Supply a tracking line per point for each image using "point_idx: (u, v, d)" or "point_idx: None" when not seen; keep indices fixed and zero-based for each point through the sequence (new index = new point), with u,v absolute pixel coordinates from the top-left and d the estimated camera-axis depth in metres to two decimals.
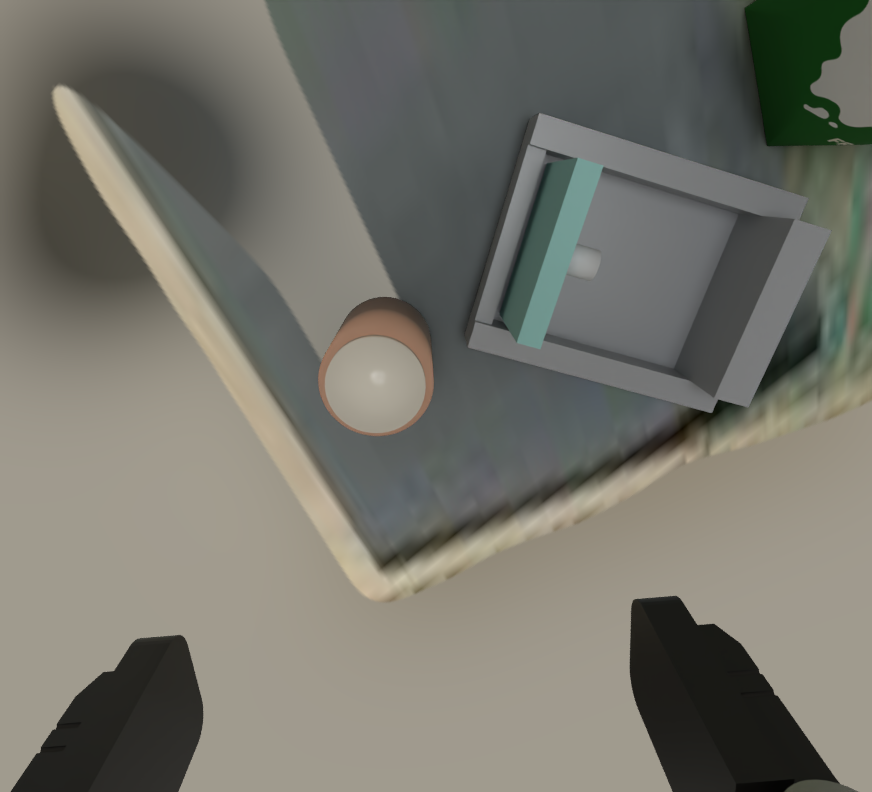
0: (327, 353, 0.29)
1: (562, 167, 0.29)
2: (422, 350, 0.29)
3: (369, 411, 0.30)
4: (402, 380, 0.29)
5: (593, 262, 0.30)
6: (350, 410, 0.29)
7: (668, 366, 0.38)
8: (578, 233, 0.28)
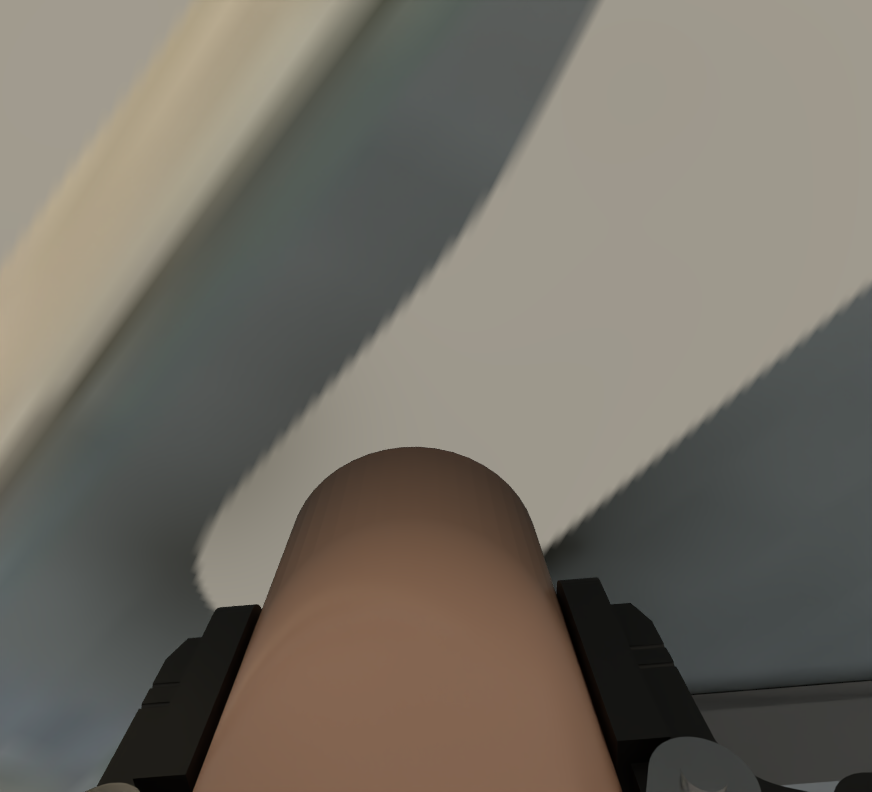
0: None
1: None
2: None
3: None
4: None
5: None
6: None
7: None
8: None
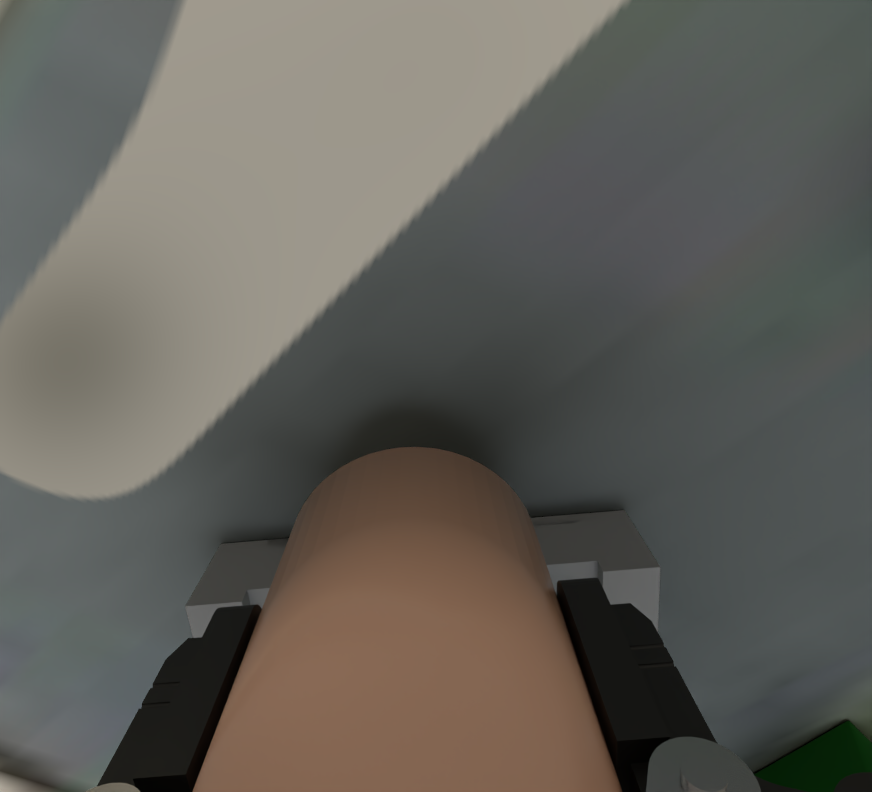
0: None
1: None
2: None
3: None
4: None
5: None
6: None
7: None
8: None
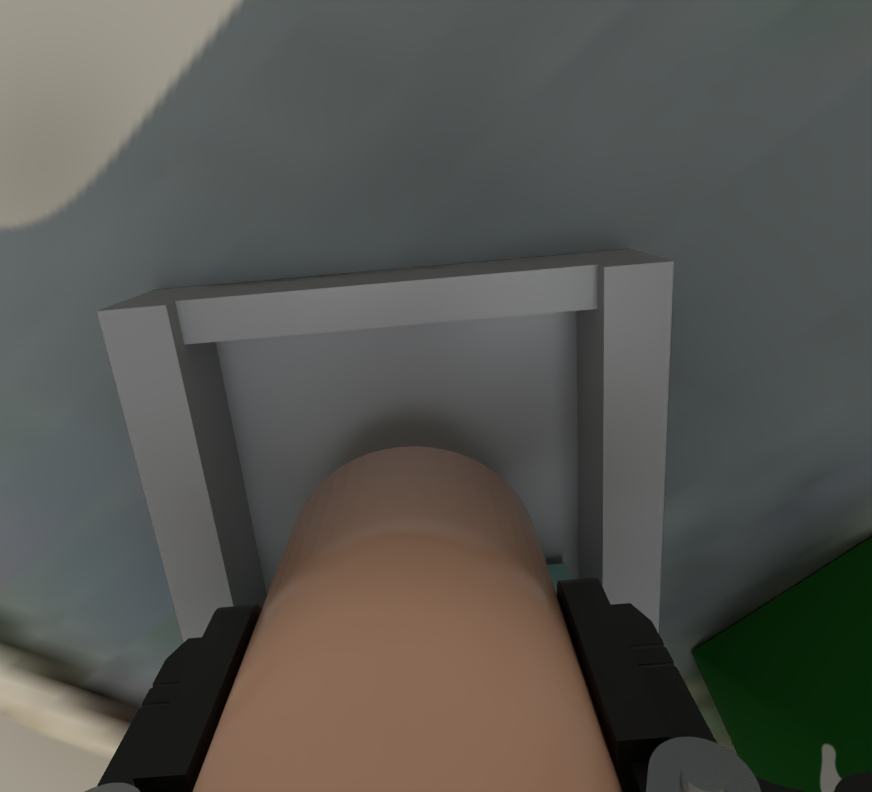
0: None
1: None
2: None
3: None
4: None
5: None
6: None
7: None
8: None
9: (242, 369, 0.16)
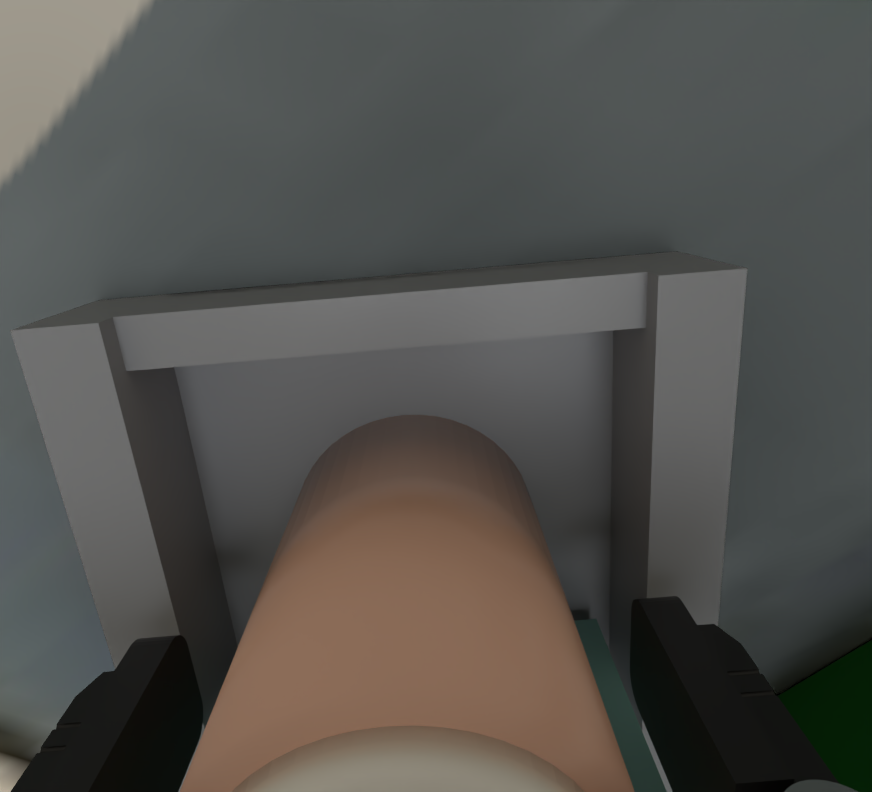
0: (463, 704, 0.06)
1: (645, 788, 0.11)
2: None
3: None
4: None
5: None
6: None
7: None
8: None
9: (207, 396, 0.13)
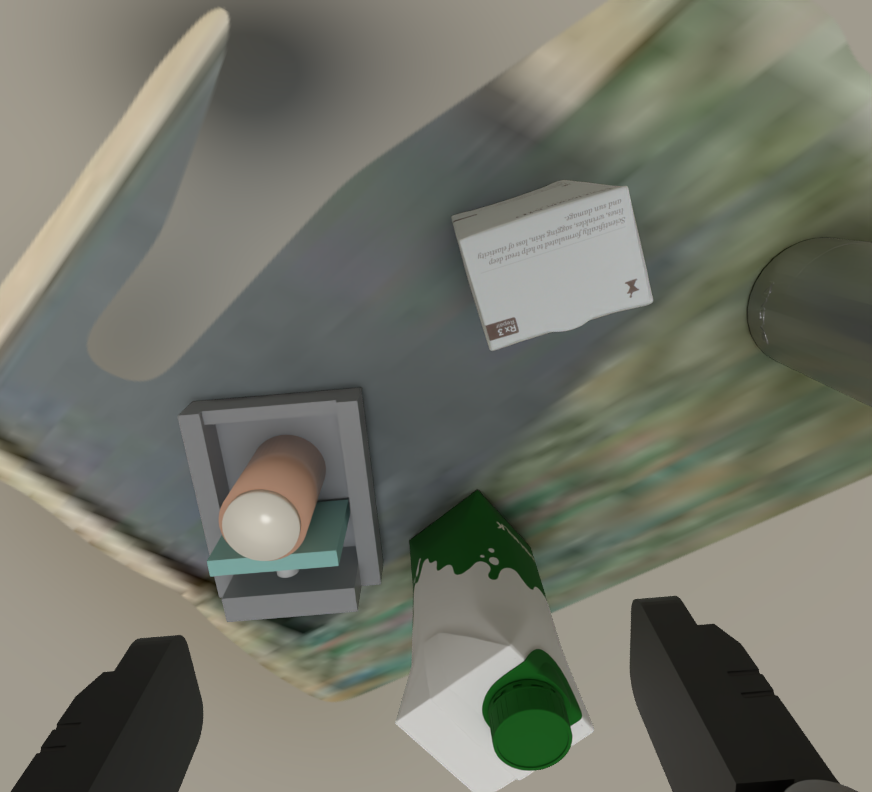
0: (268, 485, 0.38)
1: (336, 530, 0.43)
2: (301, 543, 0.39)
3: (240, 530, 0.38)
4: (274, 543, 0.39)
5: (287, 573, 0.43)
6: (234, 517, 0.38)
7: None
8: (293, 568, 0.41)
9: (224, 429, 0.45)
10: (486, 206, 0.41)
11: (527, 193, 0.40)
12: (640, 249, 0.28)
